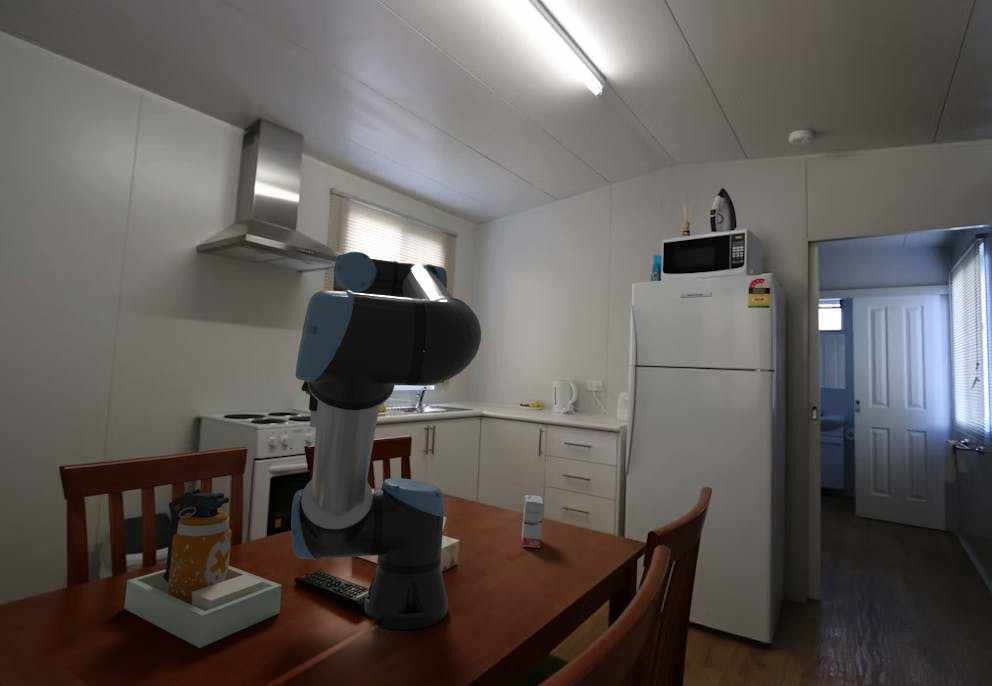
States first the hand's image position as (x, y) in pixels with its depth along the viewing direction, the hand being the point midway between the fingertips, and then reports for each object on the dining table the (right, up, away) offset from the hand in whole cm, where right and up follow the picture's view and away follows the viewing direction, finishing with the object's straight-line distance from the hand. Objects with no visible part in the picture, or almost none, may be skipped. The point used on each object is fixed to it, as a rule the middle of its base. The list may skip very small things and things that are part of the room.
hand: (341, 425), depth 108 cm
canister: (-20, -29, -19) cm, 40 cm away
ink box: (+43, -36, +28) cm, 62 cm away
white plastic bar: (-12, -29, -24) cm, 39 cm away
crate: (-18, -29, -21) cm, 40 cm away
